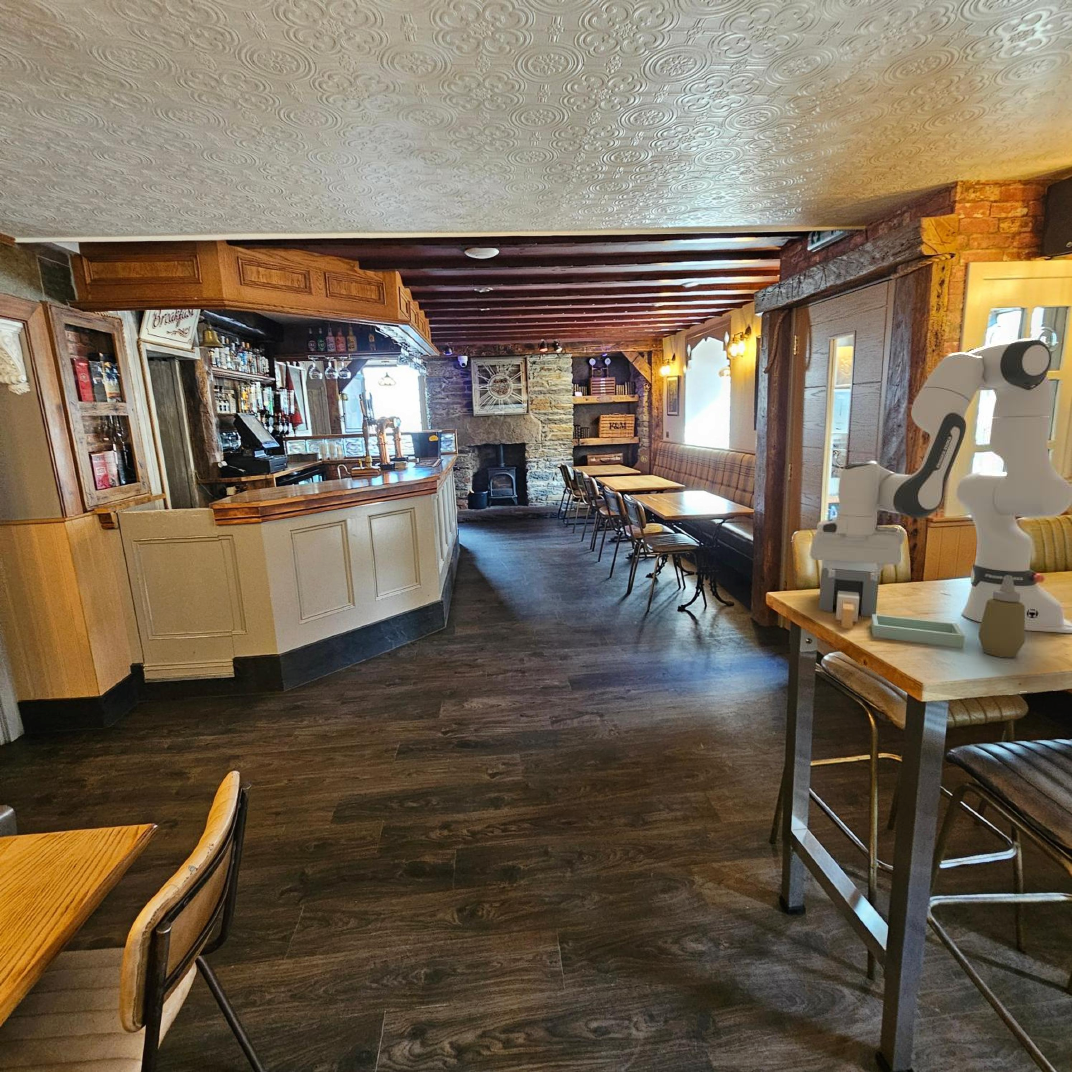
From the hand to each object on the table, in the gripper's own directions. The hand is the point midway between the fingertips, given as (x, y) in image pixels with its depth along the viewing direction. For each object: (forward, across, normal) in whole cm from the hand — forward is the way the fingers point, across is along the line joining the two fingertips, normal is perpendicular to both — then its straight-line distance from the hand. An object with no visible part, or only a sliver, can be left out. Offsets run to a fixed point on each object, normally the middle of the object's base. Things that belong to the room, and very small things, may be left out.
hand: (852, 578), depth 145 cm
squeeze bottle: (+13, -30, +8) cm, 33 cm away
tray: (+13, -14, +2) cm, 19 cm away
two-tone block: (+13, 0, -5) cm, 13 cm away
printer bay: (+13, 0, -18) cm, 22 cm away
